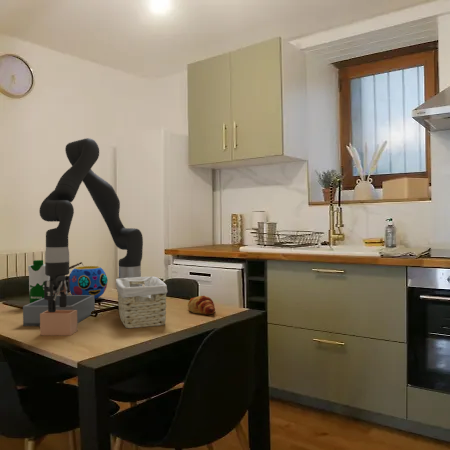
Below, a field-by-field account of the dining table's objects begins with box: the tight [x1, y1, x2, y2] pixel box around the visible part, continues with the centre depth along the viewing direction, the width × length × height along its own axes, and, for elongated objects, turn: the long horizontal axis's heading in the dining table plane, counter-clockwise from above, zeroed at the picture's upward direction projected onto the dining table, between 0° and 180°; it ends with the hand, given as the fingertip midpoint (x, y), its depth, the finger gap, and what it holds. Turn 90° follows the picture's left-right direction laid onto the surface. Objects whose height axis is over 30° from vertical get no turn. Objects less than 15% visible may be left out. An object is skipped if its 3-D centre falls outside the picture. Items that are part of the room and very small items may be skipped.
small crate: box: [39, 310, 78, 336], centre depth 149 cm, size 10×6×7 cm, turn 87°
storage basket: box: [115, 275, 168, 329], centre depth 166 cm, size 24×16×15 cm
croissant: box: [187, 295, 216, 316], centre depth 181 cm, size 21×10×8 cm, turn 29°
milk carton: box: [27, 259, 50, 304], centre depth 195 cm, size 9×9×20 cm
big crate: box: [22, 294, 96, 327], centre depth 170 cm, size 18×22×7 cm
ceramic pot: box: [68, 265, 108, 300], centre depth 209 cm, size 18×18×15 cm
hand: (57, 309), depth 149 cm, fingers open, 8 cm apart
